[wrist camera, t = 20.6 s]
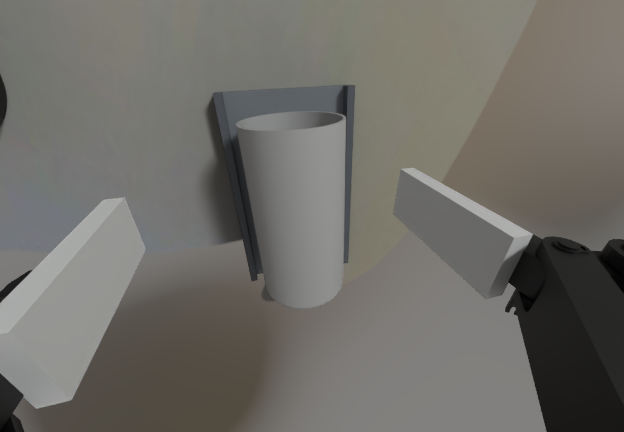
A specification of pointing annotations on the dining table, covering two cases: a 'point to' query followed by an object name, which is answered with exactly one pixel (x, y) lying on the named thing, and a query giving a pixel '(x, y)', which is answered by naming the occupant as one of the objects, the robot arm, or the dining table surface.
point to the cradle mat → (268, 102)
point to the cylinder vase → (297, 202)
